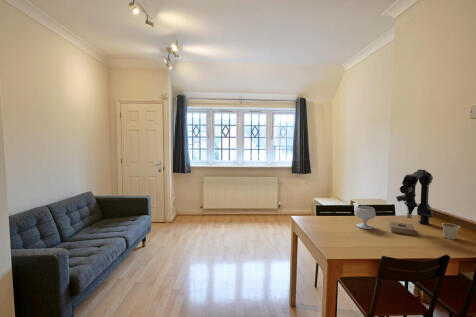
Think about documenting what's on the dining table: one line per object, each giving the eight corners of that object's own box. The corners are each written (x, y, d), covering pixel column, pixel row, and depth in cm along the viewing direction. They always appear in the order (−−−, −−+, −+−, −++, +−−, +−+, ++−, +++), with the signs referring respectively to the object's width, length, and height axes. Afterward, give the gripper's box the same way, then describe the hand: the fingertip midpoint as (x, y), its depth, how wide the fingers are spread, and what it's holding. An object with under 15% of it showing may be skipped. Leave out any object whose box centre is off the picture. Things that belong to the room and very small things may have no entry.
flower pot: (454, 235, 167) (454, 223, 166) (462, 241, 157) (463, 228, 157) (438, 234, 169) (438, 222, 168) (445, 239, 160) (446, 227, 159)
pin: (406, 216, 178) (406, 204, 178) (411, 217, 177) (412, 205, 177) (406, 217, 176) (407, 205, 175) (412, 218, 174) (412, 206, 174)
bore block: (389, 226, 186) (389, 221, 186) (411, 229, 180) (412, 224, 179) (391, 232, 174) (391, 227, 174) (415, 235, 167) (415, 230, 167)
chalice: (370, 223, 192) (370, 205, 191) (378, 230, 178) (379, 210, 177) (352, 223, 194) (352, 205, 193) (359, 229, 180) (359, 210, 179)
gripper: (395, 189, 187) (394, 209, 188) (398, 193, 171) (397, 215, 171) (413, 190, 182) (412, 211, 183) (418, 195, 166) (417, 217, 166)
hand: (409, 213), depth 176 cm, fingers closed on pin, 3 cm apart
